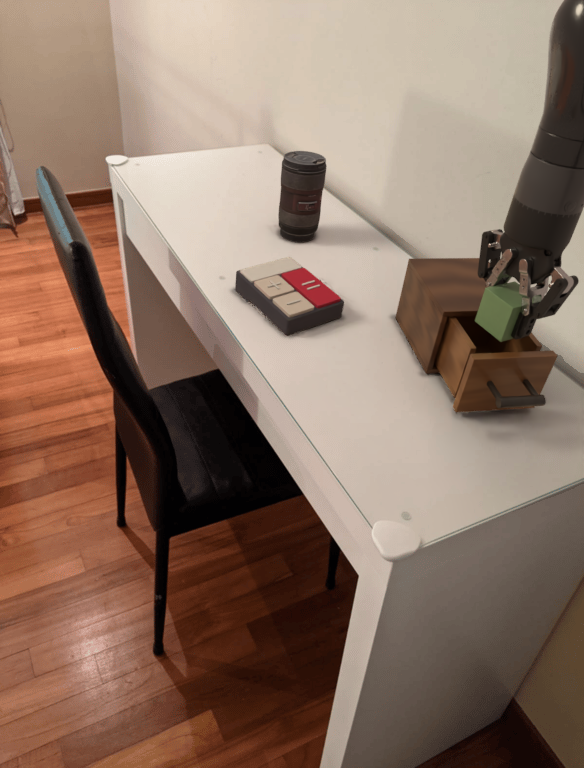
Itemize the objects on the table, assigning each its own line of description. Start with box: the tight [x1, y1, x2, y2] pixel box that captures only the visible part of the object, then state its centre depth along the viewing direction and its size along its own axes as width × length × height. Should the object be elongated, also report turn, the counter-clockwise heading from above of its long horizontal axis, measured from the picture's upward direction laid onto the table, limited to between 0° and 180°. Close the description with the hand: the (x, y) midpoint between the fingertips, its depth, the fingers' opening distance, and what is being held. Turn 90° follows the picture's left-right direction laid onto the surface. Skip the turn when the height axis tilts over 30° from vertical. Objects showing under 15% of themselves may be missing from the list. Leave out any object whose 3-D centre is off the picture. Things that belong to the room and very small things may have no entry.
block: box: [475, 281, 534, 342], centre depth 77 cm, size 5×5×5 cm
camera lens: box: [277, 150, 327, 243], centre depth 114 cm, size 8×8×15 cm
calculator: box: [234, 256, 345, 336], centre depth 98 cm, size 11×4×15 cm
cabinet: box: [395, 257, 490, 375], centre depth 91 cm, size 15×13×11 cm
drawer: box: [434, 316, 559, 413], centre depth 82 cm, size 18×11×9 cm, turn 10°
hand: (503, 324), depth 78 cm, fingers closed on block, 5 cm apart
